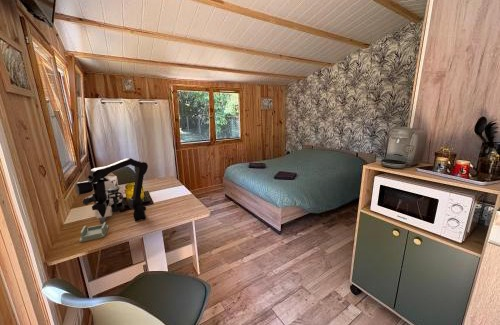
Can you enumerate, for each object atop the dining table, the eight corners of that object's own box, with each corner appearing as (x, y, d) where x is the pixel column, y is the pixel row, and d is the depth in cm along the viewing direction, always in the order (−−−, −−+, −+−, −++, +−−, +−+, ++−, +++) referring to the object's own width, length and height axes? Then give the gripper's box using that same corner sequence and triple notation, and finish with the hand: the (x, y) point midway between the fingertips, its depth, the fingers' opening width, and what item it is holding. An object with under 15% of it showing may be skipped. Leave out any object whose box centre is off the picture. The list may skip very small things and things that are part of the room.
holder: (108, 226, 134) (107, 219, 133) (104, 236, 123) (103, 229, 122) (85, 230, 130) (84, 224, 129) (79, 242, 118) (77, 235, 117)
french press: (125, 205, 165) (121, 177, 159) (125, 210, 156) (119, 180, 151) (108, 208, 160) (102, 179, 154) (106, 213, 151) (100, 183, 146)
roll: (112, 213, 130) (110, 204, 128) (111, 217, 124) (109, 207, 123) (98, 215, 127) (96, 206, 125) (96, 220, 121) (94, 210, 120)
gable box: (117, 204, 168) (111, 170, 161) (97, 207, 162) (90, 172, 156) (119, 194, 187) (114, 164, 181) (102, 197, 181) (95, 166, 175)
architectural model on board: (101, 216, 148) (99, 203, 146) (107, 215, 150) (104, 202, 148) (99, 223, 139) (96, 210, 136) (104, 222, 140) (102, 209, 138)
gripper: (86, 187, 127) (91, 211, 130) (77, 197, 110) (83, 224, 114) (108, 184, 131) (112, 207, 135) (103, 194, 115) (107, 220, 118)
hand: (104, 214), depth 125 cm, fingers closed on roll, 6 cm apart
